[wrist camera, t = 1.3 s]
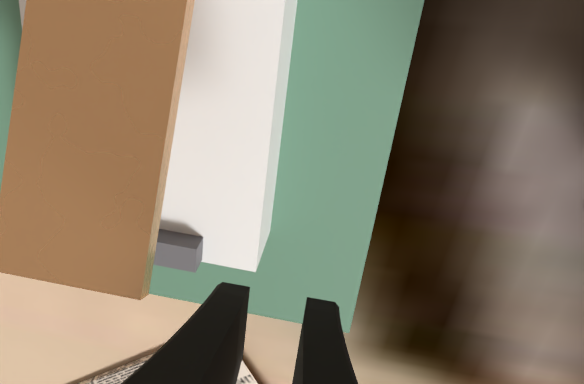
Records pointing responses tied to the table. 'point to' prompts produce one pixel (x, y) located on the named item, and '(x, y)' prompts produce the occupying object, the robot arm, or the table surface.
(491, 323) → the table surface
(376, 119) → the board
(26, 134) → the strip
